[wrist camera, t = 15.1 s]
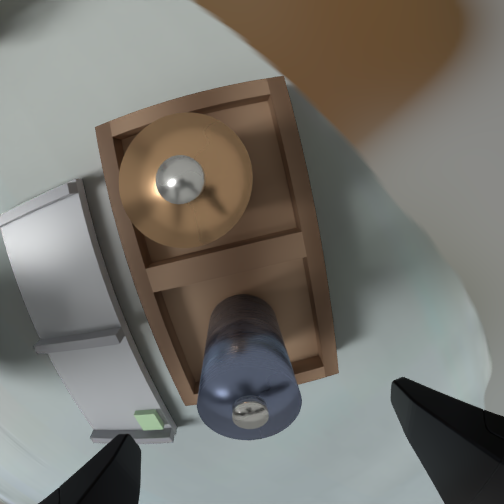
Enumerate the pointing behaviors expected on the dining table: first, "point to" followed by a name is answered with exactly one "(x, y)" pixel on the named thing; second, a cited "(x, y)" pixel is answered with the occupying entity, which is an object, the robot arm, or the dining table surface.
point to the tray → (234, 239)
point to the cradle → (82, 316)
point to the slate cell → (246, 372)
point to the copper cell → (185, 180)
